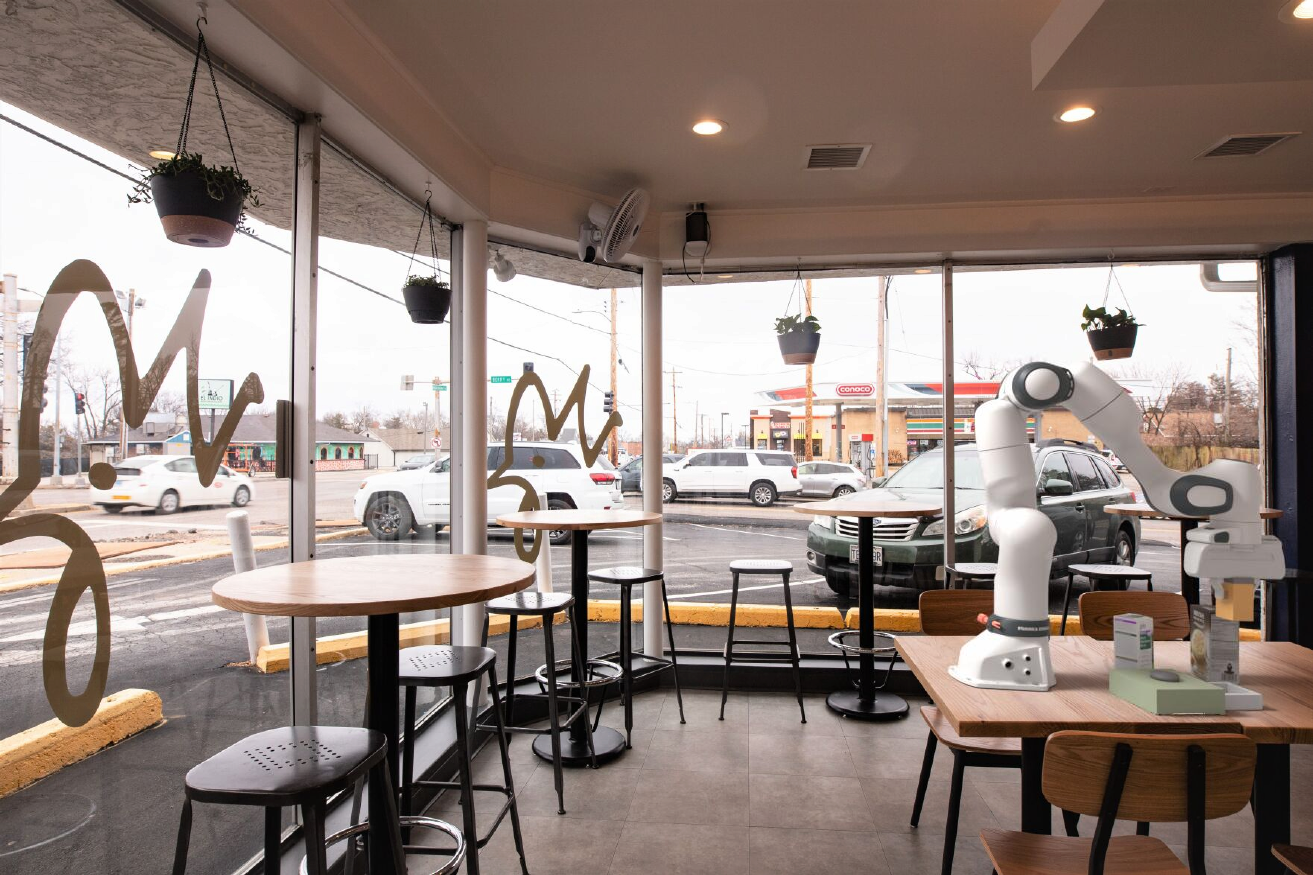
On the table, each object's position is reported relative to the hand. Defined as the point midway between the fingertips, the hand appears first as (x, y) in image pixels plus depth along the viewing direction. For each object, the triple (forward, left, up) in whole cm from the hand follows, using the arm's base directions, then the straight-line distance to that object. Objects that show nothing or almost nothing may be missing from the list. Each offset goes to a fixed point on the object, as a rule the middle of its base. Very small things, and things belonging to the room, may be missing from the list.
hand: (1234, 599), depth 159 cm
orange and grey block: (0, 0, -4) cm, 4 cm away
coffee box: (+6, +12, -21) cm, 25 cm away
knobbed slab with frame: (-14, -5, -20) cm, 25 cm away
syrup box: (-14, +11, -21) cm, 28 cm away
